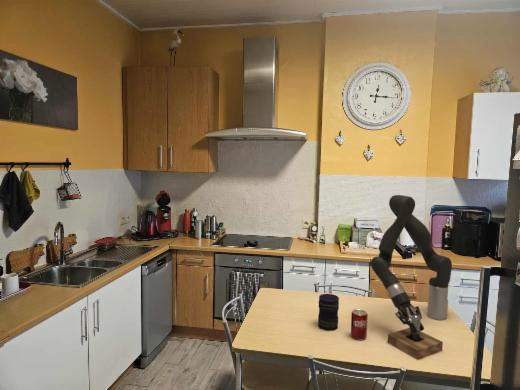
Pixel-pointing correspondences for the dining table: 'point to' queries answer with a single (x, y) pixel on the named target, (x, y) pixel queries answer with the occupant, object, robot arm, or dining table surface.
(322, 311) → the storage jar
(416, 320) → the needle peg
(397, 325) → the dining table surface
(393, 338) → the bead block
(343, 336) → the dining table surface
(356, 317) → the soda can
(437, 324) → the dining table surface
